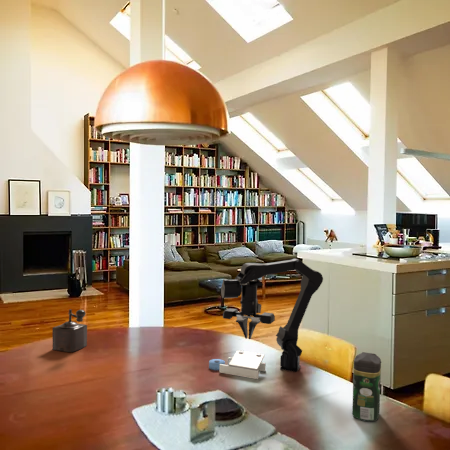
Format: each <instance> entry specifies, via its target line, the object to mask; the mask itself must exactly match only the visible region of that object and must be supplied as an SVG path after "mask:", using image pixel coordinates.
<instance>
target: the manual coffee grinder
mask: <svg viewBox="0 0 450 450" xmlns="http://www.w3.org/2000/svg"><path fill="white" fill-rule="evenodd" d="M85 316H86V311H85V310H84V309H78V310H77V311H76V312H75V314H74V313H73V309H71V308H70V309H68V321H65V322H64V323H62V324H60V325H57V326H53V327H52V347H51V349H52V350H53V351H57V352H65V353H76V352H78V351H79V350H82V349H84V348H86V347H87V345H88V325H87V324H83V323H82V322H83V321H84V317H85ZM72 317H74V318H76V319H75V321H74V320H73V321H72ZM76 321H77V322H76ZM80 322H81V323H80Z"/></svg>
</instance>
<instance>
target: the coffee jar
mask: <svg viewBox="0 0 450 450" xmlns="http://www.w3.org/2000/svg"><path fill="white" fill-rule="evenodd" d="M381 374H382V360H381V358H380V357H379V356H378V355H377V354H376V353H372V352H367V351H366V352H363V351H362V352H361V353H359V354H358V353H357V355H355V357H354V360H353V374H352V376H353V379H352V409H351V411H352V412H351V414H352V416H353V417H354V418H355V419H357V420H359V419H360V420H359V421H362V420H365V421H364V422H376V421H377V420H378V419H379V418H380V409H381V408H380V407H381V404H380V403H381V379H382V376H381Z"/></svg>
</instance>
